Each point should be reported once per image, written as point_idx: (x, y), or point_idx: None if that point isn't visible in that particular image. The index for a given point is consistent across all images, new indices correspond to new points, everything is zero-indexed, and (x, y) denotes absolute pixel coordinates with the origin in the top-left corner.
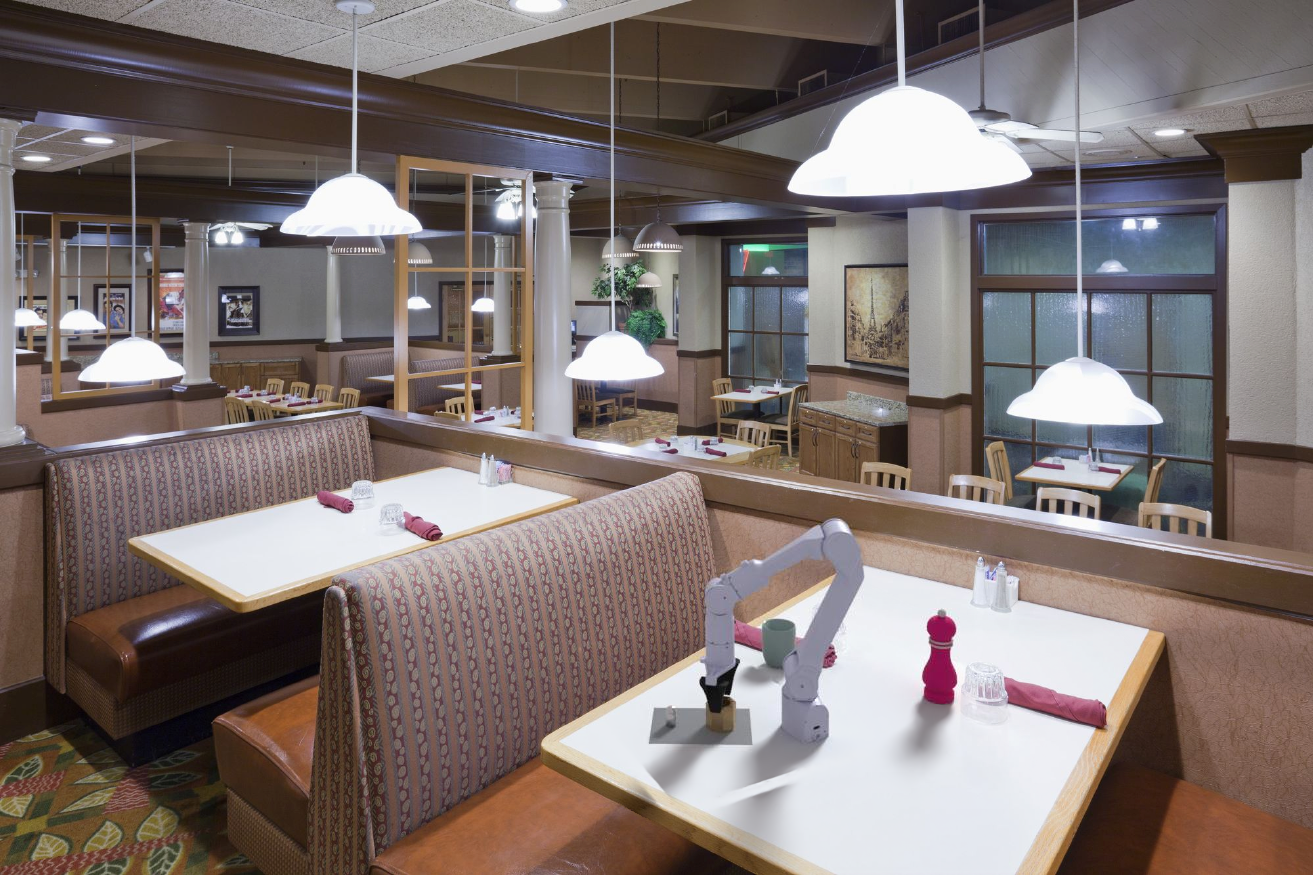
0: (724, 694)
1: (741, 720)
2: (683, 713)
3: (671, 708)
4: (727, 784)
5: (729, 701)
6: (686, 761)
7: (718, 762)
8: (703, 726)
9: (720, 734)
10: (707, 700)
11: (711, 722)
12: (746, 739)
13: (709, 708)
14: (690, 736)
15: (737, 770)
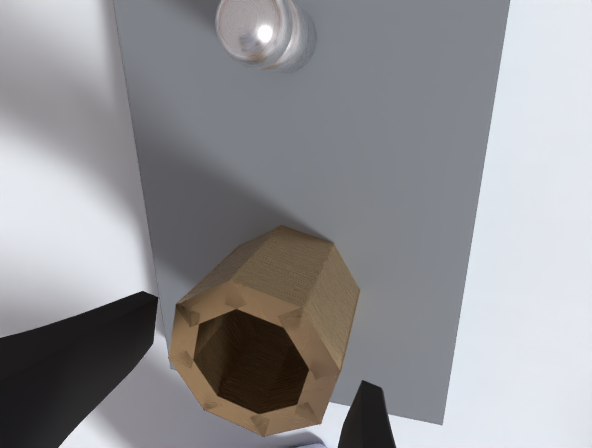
0: (352, 403)
1: None
2: (417, 106)
3: (221, 28)
4: (19, 254)
5: (275, 405)
6: (91, 128)
7: (110, 241)
8: (279, 212)
9: None
10: (62, 321)
11: (221, 262)
12: None
13: (122, 299)
14: (191, 148)
15: (85, 290)
